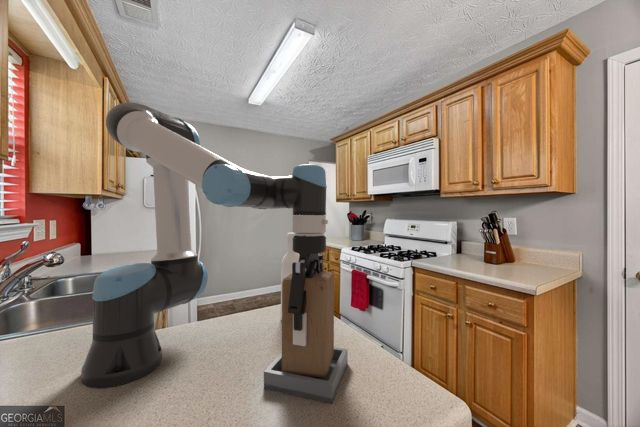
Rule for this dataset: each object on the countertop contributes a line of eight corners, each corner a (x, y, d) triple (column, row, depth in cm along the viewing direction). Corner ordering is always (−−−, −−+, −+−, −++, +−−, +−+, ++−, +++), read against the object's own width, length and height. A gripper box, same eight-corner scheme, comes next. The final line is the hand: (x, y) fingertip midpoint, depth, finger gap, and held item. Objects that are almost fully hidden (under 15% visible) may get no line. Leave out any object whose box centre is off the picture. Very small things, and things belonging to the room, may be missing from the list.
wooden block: (327, 380, 54) (327, 280, 54) (279, 374, 56) (280, 278, 56) (334, 355, 63) (334, 271, 64) (294, 351, 65) (294, 269, 66)
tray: (263, 388, 55) (263, 371, 55) (292, 354, 69) (292, 340, 69) (331, 403, 50) (331, 385, 50) (347, 363, 64) (347, 349, 64)
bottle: (281, 324, 88) (282, 233, 88) (279, 316, 95) (279, 232, 96) (305, 322, 90) (305, 233, 91) (301, 314, 98) (301, 232, 98)
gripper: (307, 238, 48) (306, 362, 48) (337, 232, 70) (337, 317, 69) (270, 237, 50) (269, 355, 50) (310, 231, 72) (310, 314, 72)
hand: (308, 333), depth 60 cm, fingers closed on wooden block, 10 cm apart
